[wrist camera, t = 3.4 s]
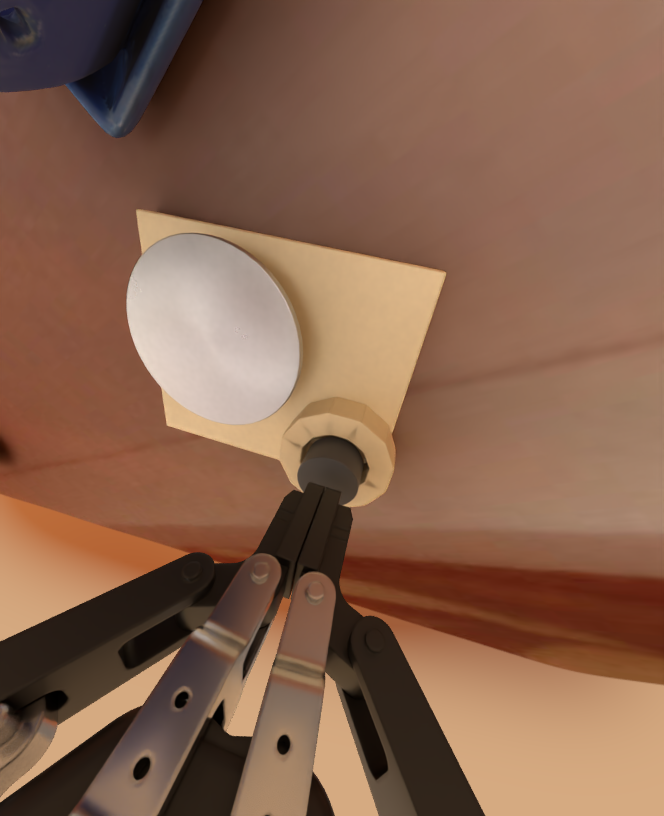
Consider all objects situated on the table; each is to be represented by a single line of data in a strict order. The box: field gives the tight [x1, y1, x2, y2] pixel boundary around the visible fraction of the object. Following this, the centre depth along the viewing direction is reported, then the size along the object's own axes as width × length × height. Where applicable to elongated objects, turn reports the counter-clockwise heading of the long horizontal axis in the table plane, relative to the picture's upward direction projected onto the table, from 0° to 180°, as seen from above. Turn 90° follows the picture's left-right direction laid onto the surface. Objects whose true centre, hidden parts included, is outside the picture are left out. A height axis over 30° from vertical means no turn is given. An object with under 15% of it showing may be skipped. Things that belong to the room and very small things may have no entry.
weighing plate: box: [126, 233, 303, 425], centre depth 13 cm, size 8×8×1 cm
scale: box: [136, 209, 446, 507], centre depth 15 cm, size 14×12×3 cm
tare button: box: [297, 437, 363, 505], centre depth 14 cm, size 3×3×2 cm
